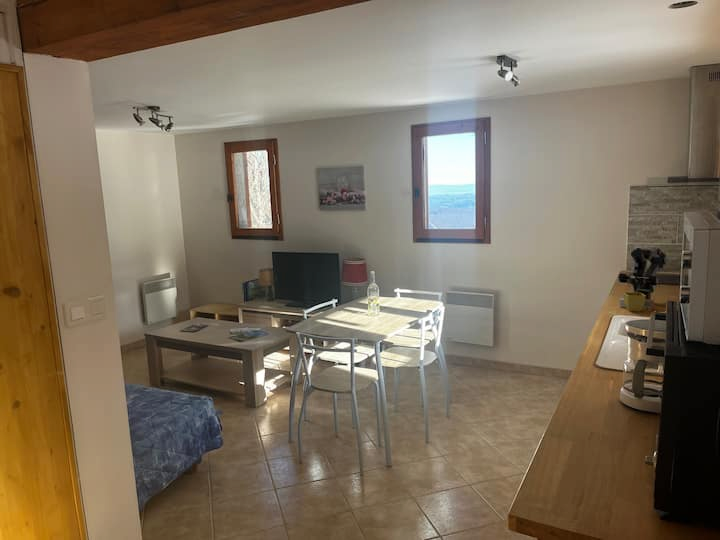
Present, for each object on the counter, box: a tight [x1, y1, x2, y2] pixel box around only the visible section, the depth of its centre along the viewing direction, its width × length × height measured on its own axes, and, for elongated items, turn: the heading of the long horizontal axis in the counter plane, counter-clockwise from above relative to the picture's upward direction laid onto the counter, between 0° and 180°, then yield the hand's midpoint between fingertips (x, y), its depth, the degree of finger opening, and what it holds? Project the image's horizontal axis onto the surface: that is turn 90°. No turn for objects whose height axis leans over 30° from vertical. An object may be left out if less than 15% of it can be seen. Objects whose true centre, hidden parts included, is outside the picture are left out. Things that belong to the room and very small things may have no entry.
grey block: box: [619, 297, 627, 309], centre depth 292 cm, size 4×4×4 cm
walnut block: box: [642, 299, 655, 310], centre depth 288 cm, size 4×4×4 cm
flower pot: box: [623, 291, 646, 312], centre depth 283 cm, size 9×9×9 cm
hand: (635, 292), depth 287 cm, fingers closed
